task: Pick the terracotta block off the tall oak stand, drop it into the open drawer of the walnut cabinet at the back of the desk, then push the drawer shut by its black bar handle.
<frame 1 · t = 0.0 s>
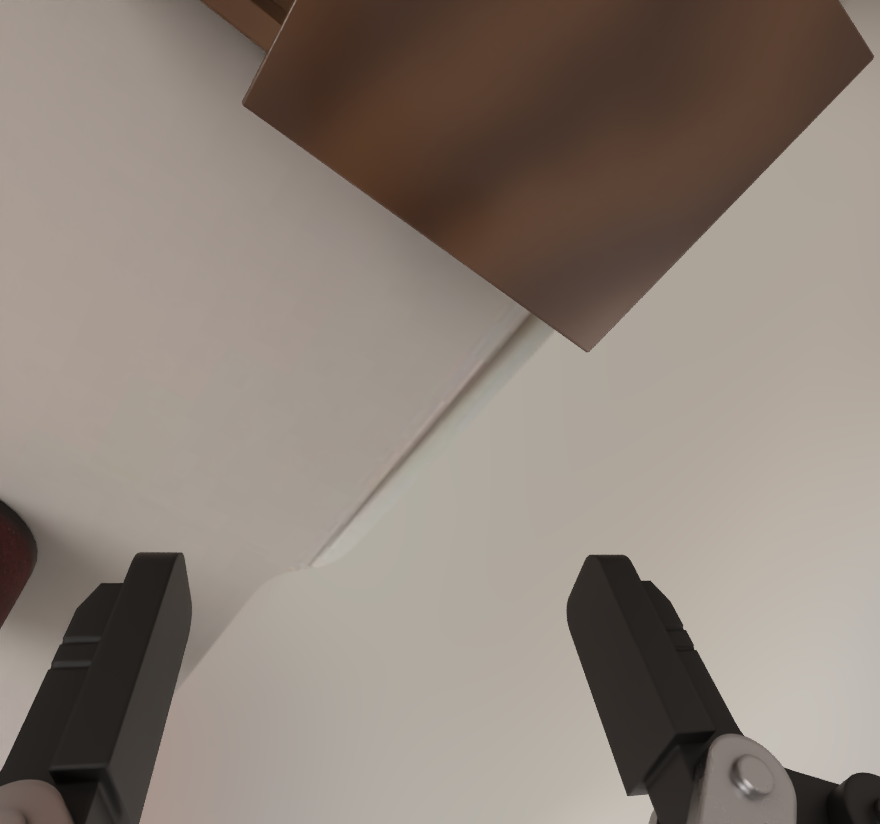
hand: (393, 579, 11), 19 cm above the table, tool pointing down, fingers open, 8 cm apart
cabinet: (503, 58, 22), on the table
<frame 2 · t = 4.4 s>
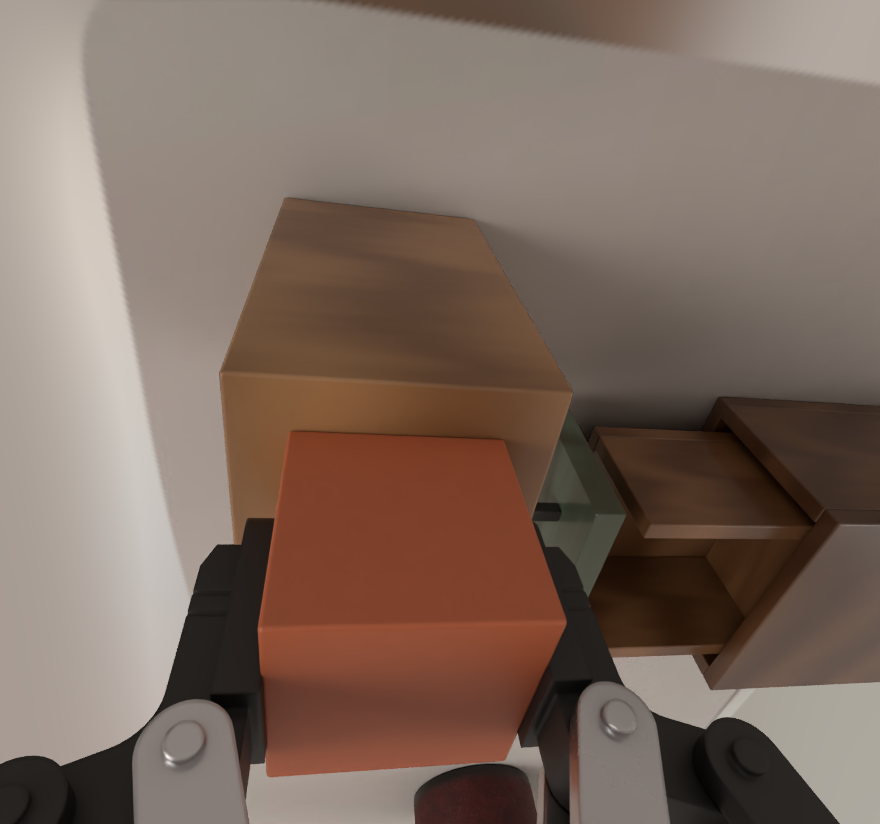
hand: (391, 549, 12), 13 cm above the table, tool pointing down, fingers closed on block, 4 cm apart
drawer: (619, 541, 27), point 4 cm above the table, slide at 8.0 cm
cabinet: (780, 486, 32), on the table
vase: (471, 788, 52), on the table
stand: (374, 296, 23), on the table
block: (389, 511, 13), point 12 cm above the table, touching gripper, stand
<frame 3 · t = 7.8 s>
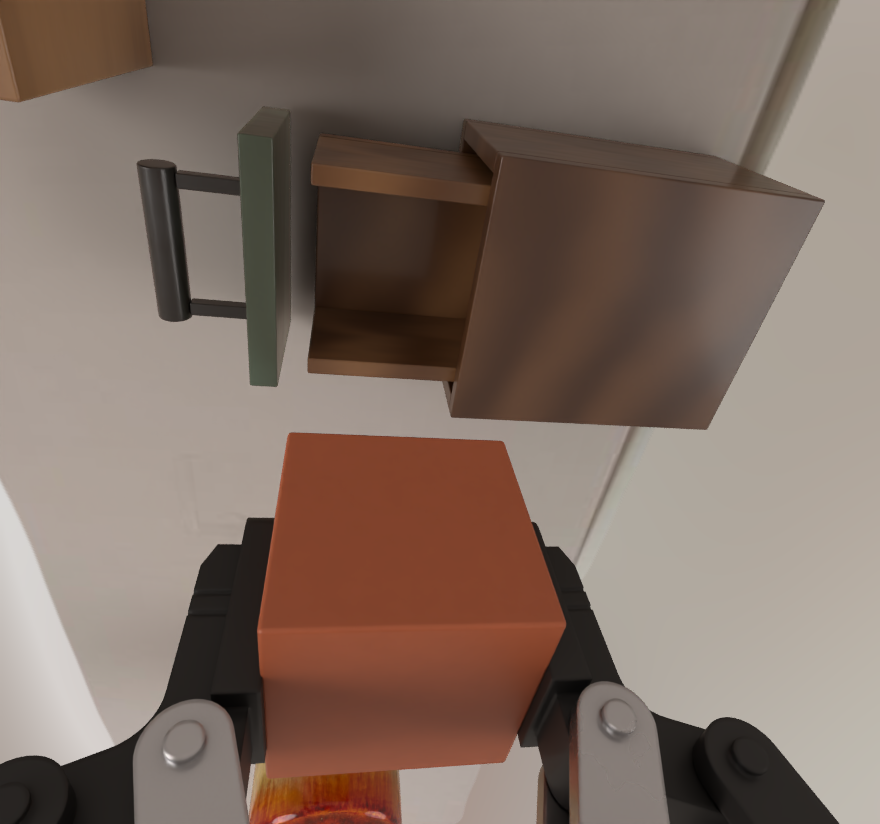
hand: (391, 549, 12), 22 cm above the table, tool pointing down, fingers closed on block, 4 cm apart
drawer: (350, 256, 26), point 4 cm above the table, slide at 8.0 cm
cabinet: (564, 250, 31), on the table
vase: (332, 648, 51), on the table
block: (389, 512, 13), point 21 cm above the table, touching gripper
when the fingers open (7 cm above the table, at t = 11.2 s): block drops 4 cm, resting on drawer.
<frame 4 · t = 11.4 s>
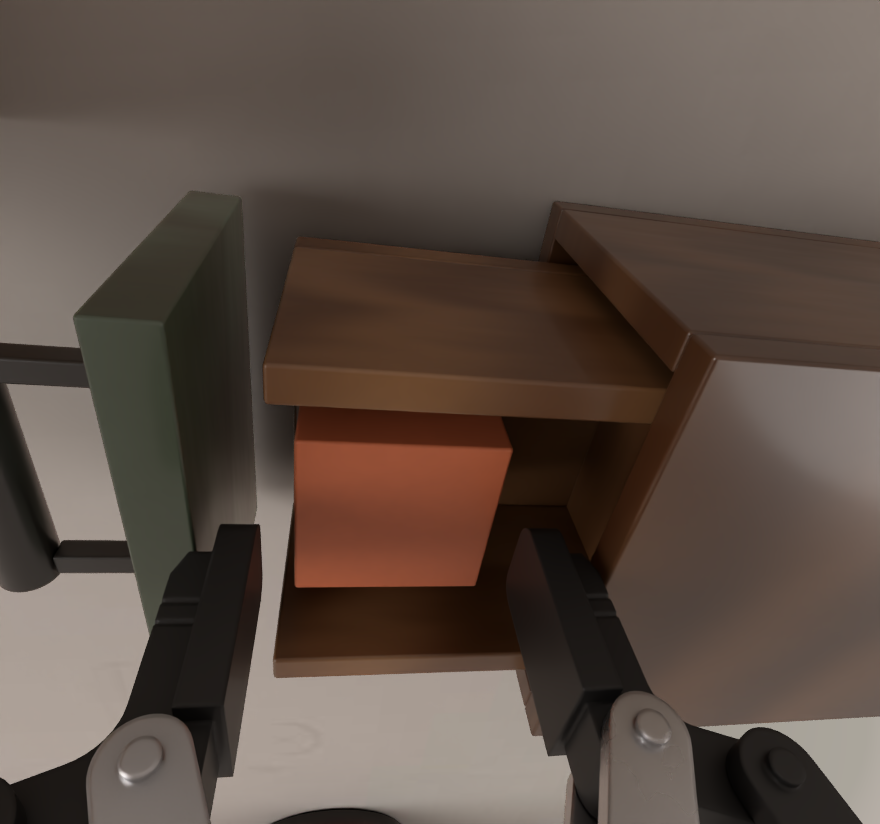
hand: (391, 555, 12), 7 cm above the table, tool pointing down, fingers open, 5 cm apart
drawer: (352, 457, 14), point 4 cm above the table, slide at 8.0 cm, touching block
cabinet: (692, 391, 20), on the table
block: (388, 409, 16), point 2 cm above the table, touching drawer
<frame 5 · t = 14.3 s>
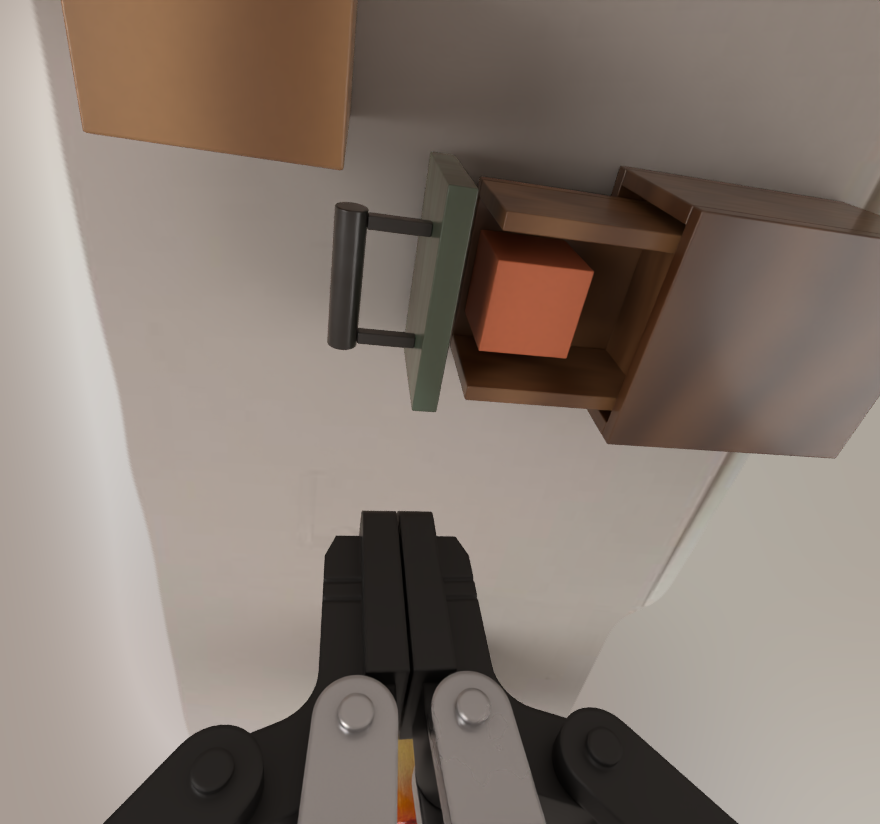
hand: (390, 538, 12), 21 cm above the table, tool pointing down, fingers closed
drawer: (504, 290, 28), point 4 cm above the table, slide at 8.8 cm, touching block
cabinet: (692, 285, 33), on the table
vase: (415, 659, 52), on the table
stand: (272, 10, 24), on the table
block: (513, 276, 30), point 2 cm above the table, touching drawer
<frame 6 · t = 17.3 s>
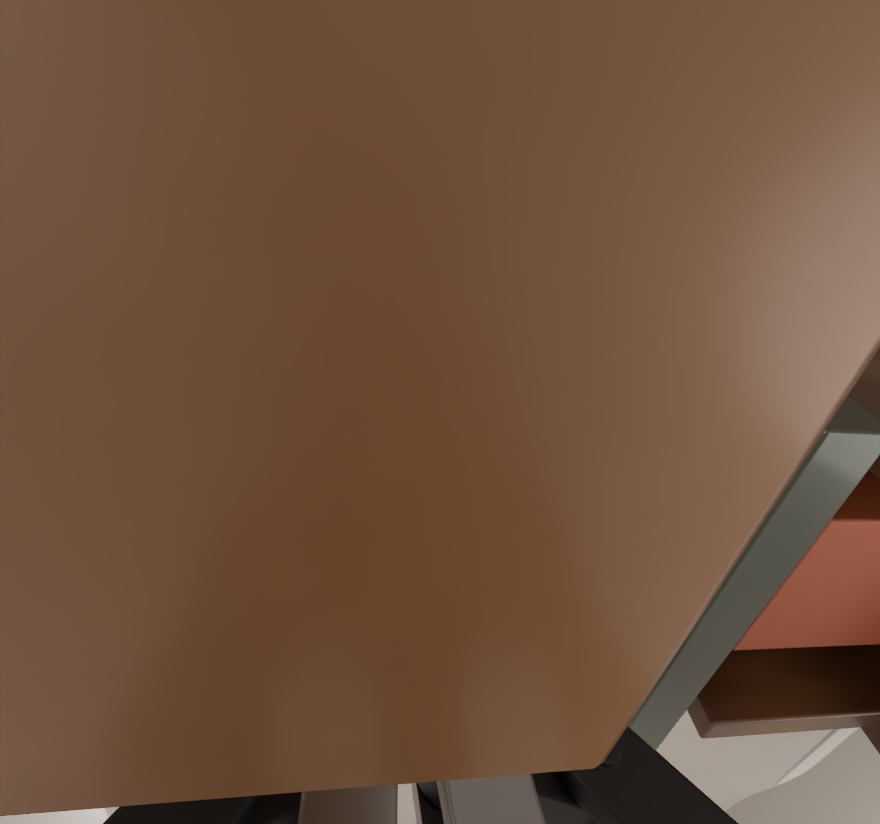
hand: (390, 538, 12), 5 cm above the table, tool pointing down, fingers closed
drawer: (766, 517, 14), point 4 cm above the table, slide at 7.3 cm, touching block, gripper
block: (749, 461, 16), point 2 cm above the table, touching drawer
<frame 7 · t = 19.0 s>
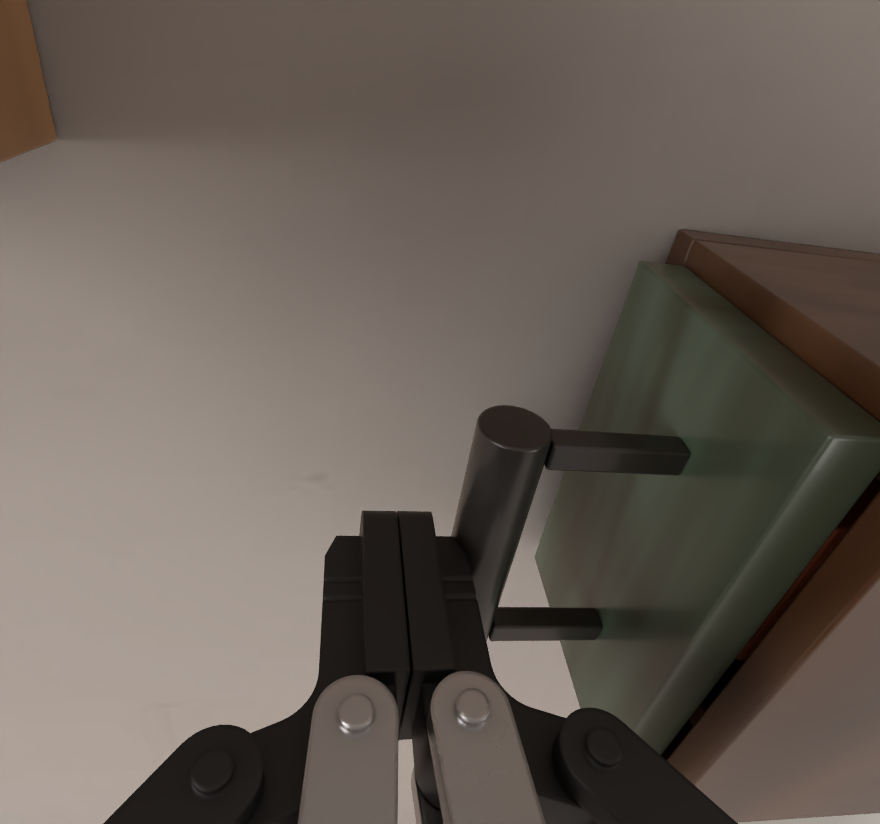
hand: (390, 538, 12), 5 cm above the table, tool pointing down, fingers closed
drawer: (773, 526, 14), point 4 cm above the table, slide at 0.0 cm, touching block, cabinet, gripper
cabinet: (801, 431, 18), on the table
block: (757, 469, 16), point 2 cm above the table, touching drawer
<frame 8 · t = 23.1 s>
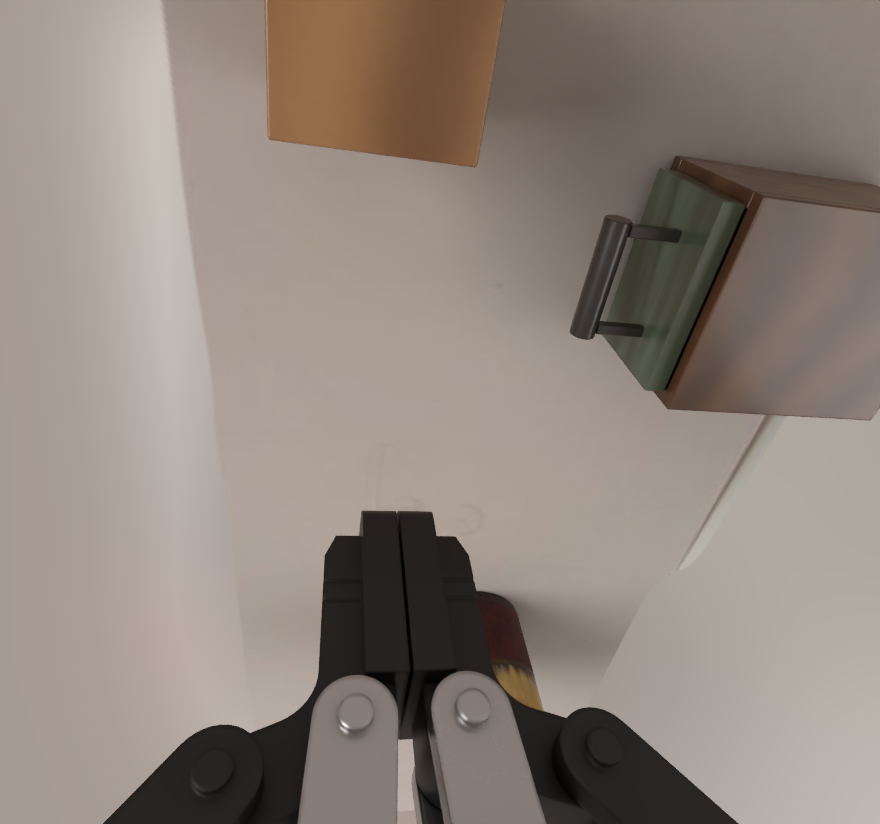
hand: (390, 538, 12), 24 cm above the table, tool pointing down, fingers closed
drawer: (717, 286, 32), point 4 cm above the table, slide at 0.0 cm, touching block
cabinet: (735, 265, 36), on the table
vase: (463, 623, 56), on the table
stand: (374, 22, 27), on the table
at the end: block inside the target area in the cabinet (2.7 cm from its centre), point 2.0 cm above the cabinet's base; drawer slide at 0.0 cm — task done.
